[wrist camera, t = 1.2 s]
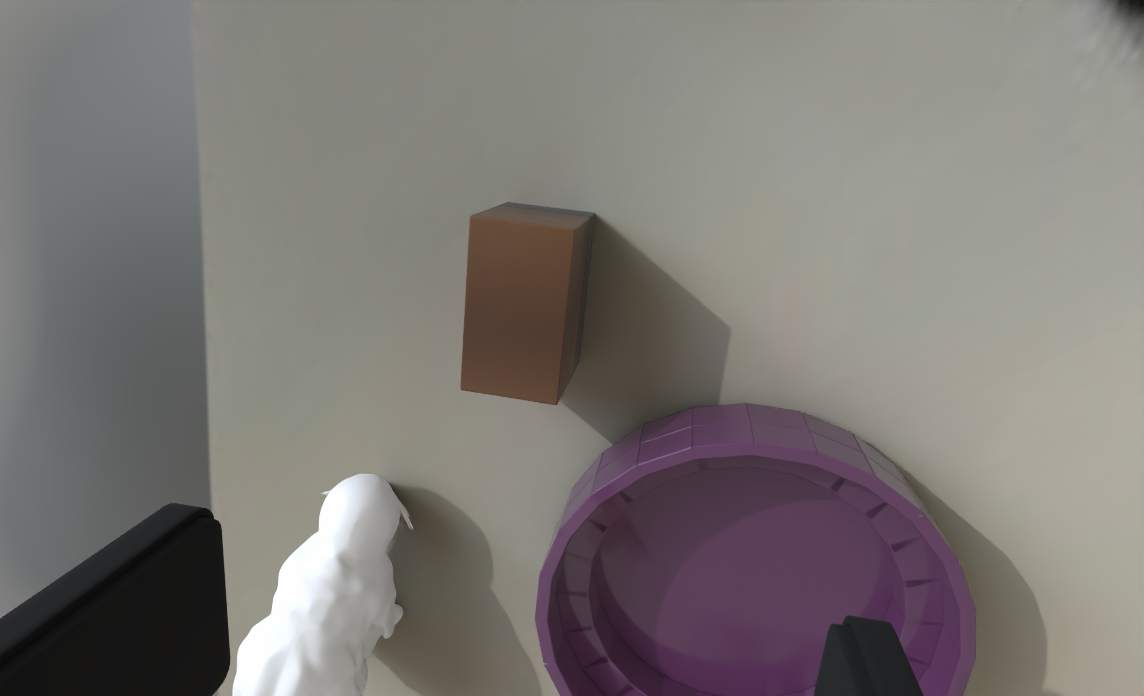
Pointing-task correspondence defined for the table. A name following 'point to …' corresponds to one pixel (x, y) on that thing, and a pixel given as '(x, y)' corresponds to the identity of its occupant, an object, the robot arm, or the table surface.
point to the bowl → (743, 561)
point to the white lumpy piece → (329, 600)
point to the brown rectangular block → (525, 300)
